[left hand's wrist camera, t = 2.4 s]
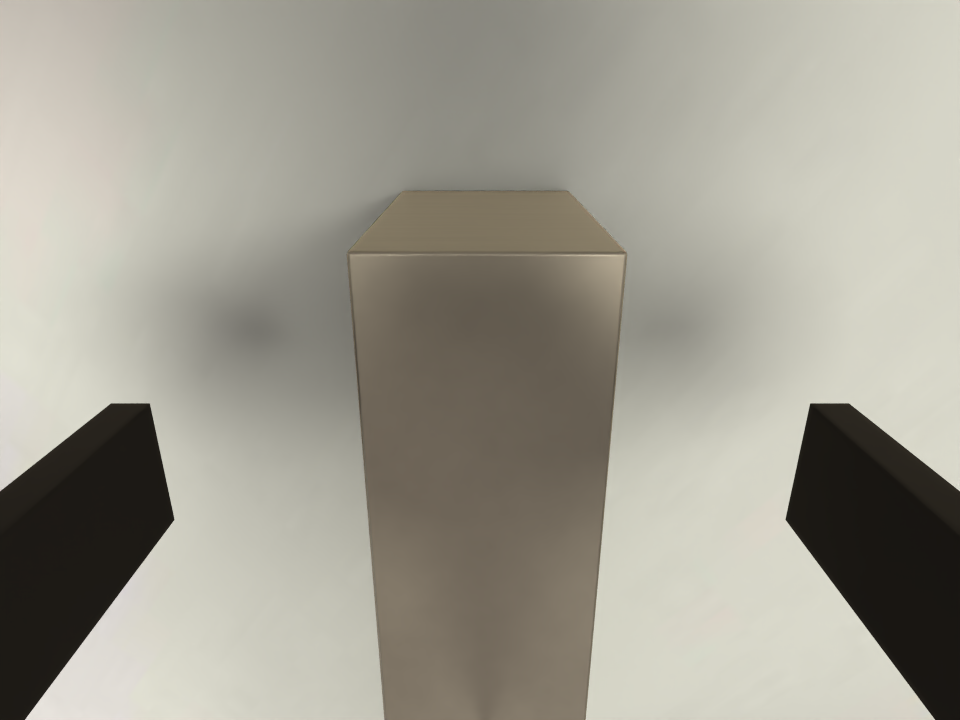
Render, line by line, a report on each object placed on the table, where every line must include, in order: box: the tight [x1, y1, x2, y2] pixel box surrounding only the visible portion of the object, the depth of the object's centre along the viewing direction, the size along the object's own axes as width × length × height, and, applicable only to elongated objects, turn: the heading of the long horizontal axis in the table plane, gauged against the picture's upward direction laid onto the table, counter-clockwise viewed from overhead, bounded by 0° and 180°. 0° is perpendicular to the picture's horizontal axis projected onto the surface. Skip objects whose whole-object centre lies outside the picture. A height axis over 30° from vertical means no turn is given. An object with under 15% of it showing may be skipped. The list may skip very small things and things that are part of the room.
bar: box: [347, 191, 627, 720], centre depth 20 cm, size 25×5×8 cm, turn 0°
